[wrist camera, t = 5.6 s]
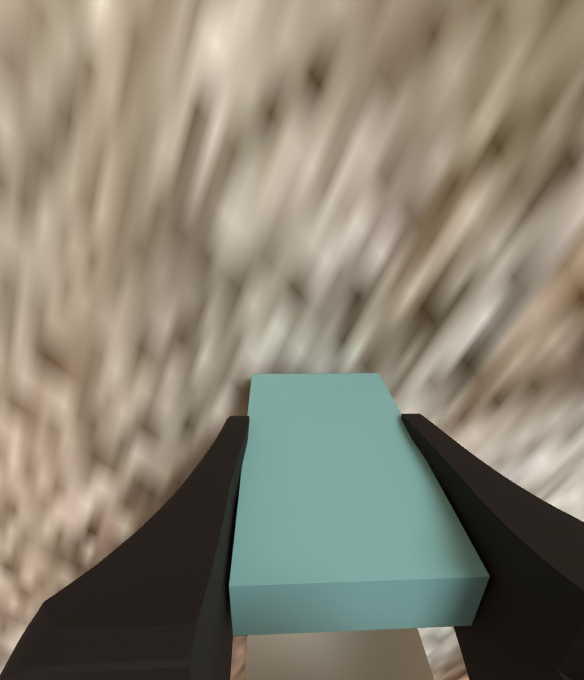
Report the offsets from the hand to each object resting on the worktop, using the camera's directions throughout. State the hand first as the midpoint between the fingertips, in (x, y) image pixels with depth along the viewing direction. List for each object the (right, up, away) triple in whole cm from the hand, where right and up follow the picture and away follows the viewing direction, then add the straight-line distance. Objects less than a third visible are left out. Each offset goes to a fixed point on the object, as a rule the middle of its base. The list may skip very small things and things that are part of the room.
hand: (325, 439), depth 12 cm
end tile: (0, +1, +3) cm, 3 cm away
